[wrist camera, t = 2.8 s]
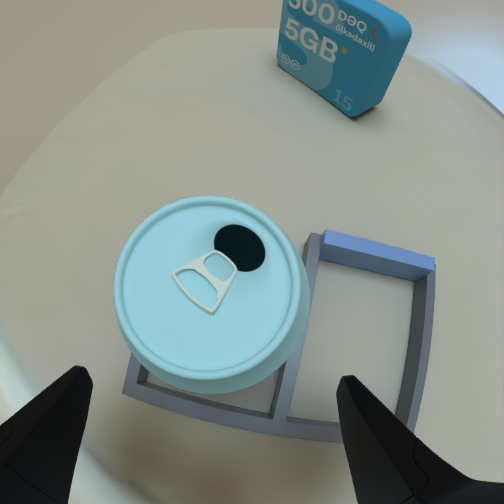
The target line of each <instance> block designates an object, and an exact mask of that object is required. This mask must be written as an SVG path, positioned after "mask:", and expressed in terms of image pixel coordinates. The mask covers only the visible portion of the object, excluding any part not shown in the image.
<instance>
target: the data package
mask: <svg viewBox="0 0 504 504" xmlns="http://www.w3.org/2000/svg"><path fill="white" fill-rule="evenodd" d="M411 34H412V30H411V26H410V24H409V22H408V21H407V19H406V18H405V17H403V16H402V15H400V14H399V13H397V12H395V11H394V10H392V9H390V8H388V7H386V6H385V5H383V4H381V3H379V2H377V1H375V0H283V5H282V14H281V22H280V31H279V40H278V48H277V60H278V63H279V64H280V66H281V67H282V68H283V69H284V70H285V71H286V72H288V73H290V74H291V75H292V76H294V77H295V78H297V79H298V80H300V81H301V82H303V83H304V84H305V85H307V86H308V87H310V88H311V89H312V90H314V91H315V92H317V93H318V94H319V95H321V96H322V97H323V98H325V99H326V100H327V101H329V102H330V103H331V104H332V105H334V106H335V107H336V108H338V109H339V110H340V111H341V112H343V113H344V114H346V115H347V116H351V117H355V116H358V115H359V114H361V113H363V112H365V111H366V110H368V109H370V108H372V107H373V106H375V105H377V104H379V103H380V102H381V101H382V99H383V97H384V95H385V93H386V91H387V88H388V86H389V84H390V82H391V80H392V78H393V76H394V74H395V71H396V69H397V67H398V65H399V63H400V61H401V58H402V56H403V54H404V52H405V49H406V47H407V45H408V43H409V40H410V38H411Z"/></svg>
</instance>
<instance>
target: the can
mask: <svg viewBox="0 0 504 504" xmlns="http://www.w3.org/2000/svg"><path fill="white" fill-rule="evenodd" d="M113 296H114V304H115V310H116V316H117V321H118V324H119V327H120V331H121V333H122V335H123V338H124V340H125V342H126V344H127V345H128V347H129V349H130V350H131V352H132V353H133V355H134V356H135V357H136V358H137V360H138V361H139V362H140V363H141V364H142V365H143V366H144V367H145V368H146V369H147V370H148V371H149V372H151V373H152V374H153V375H154V376H156V377H157V378H159V379H160V380H162V381H164V382H165V383H167V384H169V385H172V386H174V387H176V388H179V389H182V390H185V391H189V392H194V393H200V394H224V393H230V392H235V391H239V390H242V389H245V388H248V387H250V386H253V385H255V384H257V383H258V382H260V381H262V380H264V379H265V378H267V377H268V376H270V375H271V374H272V373H274V372H275V371H276V370H277V369H278V368H279V367H280V366H281V365H282V364H283V363H284V362H285V361H286V360H287V359H288V358H289V356H290V355H291V354H292V352H293V351H294V349H295V348H296V346H297V344H298V343H299V341H300V339H301V337H302V334H303V332H304V329H305V326H306V322H307V319H308V313H309V305H310V290H309V282H308V277H307V273H306V269H305V266H304V264H303V261H302V259H301V257H300V254H299V252H298V251H297V249H296V247H295V246H294V244H293V243H292V241H291V240H290V239H289V237H288V236H287V235H286V234H285V233H284V232H283V231H282V230H281V229H280V228H279V227H278V226H277V224H276V223H275V222H274V221H273V220H271V219H270V218H269V217H268V216H267V215H265V214H264V213H263V212H261V211H260V210H258V209H256V208H255V207H253V206H251V205H249V204H247V203H245V202H242V201H239V200H236V199H232V198H228V197H223V196H213V195H212V196H195V197H189V198H185V199H181V200H178V201H175V202H173V203H170V204H168V205H166V206H164V207H162V208H160V209H159V210H157V211H155V212H154V213H153V214H151V215H150V216H149V217H147V218H146V219H145V220H144V221H143V222H142V223H141V224H140V225H139V226H138V227H137V228H136V229H135V230H134V232H133V233H132V234H131V236H130V237H129V239H128V240H127V242H126V243H125V245H124V247H123V249H122V251H121V254H120V256H119V259H118V262H117V265H116V269H115V274H114V282H113Z"/></svg>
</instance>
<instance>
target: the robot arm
mask: <svg viewBox="0 0 504 504" xmlns="http://www.w3.org/2000/svg"><path fill="white" fill-rule="evenodd" d="M92 388H93V382H92V379H91V377H90V375H89V373H88V371H87V369H86V368H85V367H83V366H78V365H76V366H73V367H72V368H71V369H70V370H68V371H67V372H66V373H65V374H63V375H62V376H61V377H60V378H58V379H57V380H56V381H55V382H53V383H52V384H51V385H50V386H48V387H47V388H46V389H45V390H43V391H42V392H41V393H40V394H38V395H37V396H36V397H35V398H33V399H32V400H31V401H30V402H29V403H27V404H26V405H25V406H24V407H22V408H21V409H20V410H19V411H18V412H16V413H15V414H14V415H13V416H11V417H10V418H9V419H8V420H7V421H5V422H4V423H3V424H1V425H0V504H68V499H69V494H70V489H71V484H72V479H73V474H74V469H75V465H76V461H77V456H78V452H79V448H80V444H81V440H82V437H83V433H84V429H85V425H86V421H87V416H88V411H89V405H90V399H91V394H92ZM336 397H337V404H338V412H339V420H340V428H341V434H342V439H343V443H344V447H345V451H346V455H347V459H348V463H349V467H350V472H351V476H352V480H353V485H354V489H355V493H356V498H357V502H358V504H504V483H498V482H487V481H479V480H474V479H471V478H469V477H467V476H465V475H464V474H462V473H461V472H459V471H458V470H457V469H455V468H454V467H452V466H451V465H450V464H448V463H447V462H446V461H444V460H443V459H442V458H440V457H439V456H438V455H437V454H435V453H434V452H433V451H432V450H431V449H429V448H428V447H427V446H426V445H425V444H424V443H423V442H422V441H421V440H420V439H419V438H418V437H417V438H416V436H415V435H414V434H413V433H412V432H411V431H410V430H409V429H408V428H407V427H406V426H405V425H404V424H403V423H402V422H401V421H400V420H399V419H398V418H397V417H396V416H395V415H394V414H393V413H392V412H391V411H390V410H389V409H388V408H387V407H386V406H385V405H384V404H383V403H382V402H381V401H380V400H379V399H378V398H377V397H376V396H374V395H373V394H372V393H371V392H370V391H369V390H368V389H367V388H366V387H365V386H364V385H363V384H362V383H361V382H360V381H359V380H358V379H357V378H356V377H355V376H354V375H347V376H343V377H342V378H341V380H340V383H339V386H338V388H337V392H336Z"/></svg>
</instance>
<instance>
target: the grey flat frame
mask: <svg viewBox="0 0 504 504" xmlns="http://www.w3.org/2000/svg"><path fill="white" fill-rule="evenodd" d="M319 259H321V260H325V261H329V262H334V263H338V264H342V265H347V266H351V267H355V268H360V269H364V270H368V271H372V272H377V273H381V274H385V275H390V276H394V277H398V278H402V279H407V280H411V281H414V295H413V307H412V318H411V327H410V336H409V343H408V351H407V357H406V364H405V370H404V375H403V381H402V386H401V391H400V396H399V400H398V405H397V409H396V414H395V416H396V417H397V418H398V419H399V420H400V421H401V422H402V423H403V424H404V425H405V426H406V427H407V428H408V429H409V430H410V431H411V432H412V433H414V429H415V425H416V421H417V417H418V413H419V408H420V404H421V399H422V394H423V389H424V384H425V378H426V372H427V366H428V360H429V352H430V344H431V336H432V326H433V314H434V299H435V269H436V264H435V258H433V257H430V256H426V255H423V254H419V253H415V252H412V251H408V250H405V249H401V248H397V247H394V246H390V245H386V244H382V243H378V242H375V241H371V240H367V239H363V238H359V237H355V236H351V235H347V234H343V233H339V232H335V231H331V230H327V229H326V230H325V232H324V233H323V235H320V234H316V233H311V234H310V236H309V237H308V239H307V241H306V243H305V248H304V254H303V259H302V261H303V264H304V266H305V269H306V273H307V277H308V282H309V290H310V305H309V313H310V308H311V302H312V297H313V291H314V285H315V279H316V273H317V267H318V261H319ZM309 313H308V318H309ZM307 324H308V319H307V322H306V326H305V329H304V332H303V334H302V337H301V339H300V341H299V343H298V344H297V346H296V348H295V349H294V351H293V352H292V354H291V355H290V356H289V358H288V359H287V360H286V361H285V362H284V363H283V364H282V365H281V368H280V373H279V377H278V381H277V386H276V390H275V394H274V398H273V402H272V406H271V410H270V414H269V413H264V412H258V411H253V410H248V409H244V408H239V407H234V406H230V405H226V404H222V403H217V402H213V401H210V400H206V399H202V398H198V397H195V396H191V395H188V394H184V393H181V392H177V391H174V390H171V389H168V388H164V387H161V386H158V385H155V384H152V383H149V382H146V378H147V374H148V370H147V369H146V368H145V367H144V366H143V365H142V364H141V363H140V362H139V361H138V360H137V358H136V357H135V356H134V355H133V353H132V352H131V357H130V361H129V365H128V369H127V373H126V378H125V382H124V387H123V392H122V394H125V395H127V396H130V397H133V398H135V399H138V400H141V401H144V402H146V403H149V404H152V405H155V406H158V407H161V408H164V409H167V410H170V411H174V412H177V413H180V414H184V415H187V416H190V417H194V418H198V419H201V420H205V421H209V422H213V423H217V424H221V425H226V426H230V427H235V428H239V429H244V430H249V431H254V432H260V433H265V434H271V435H278V436H284V437H291V438H299V439H308V440H317V441H329V442H343V439H342V434H341V428H340V423H336V422H326V421H317V420H308V419H301V418H294V417H287V414H288V410H289V406H290V402H291V398H292V393H293V389H294V385H295V381H296V376H297V372H298V367H299V363H300V358H301V353H302V349H303V344H304V339H305V334H306V329H307Z"/></svg>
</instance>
